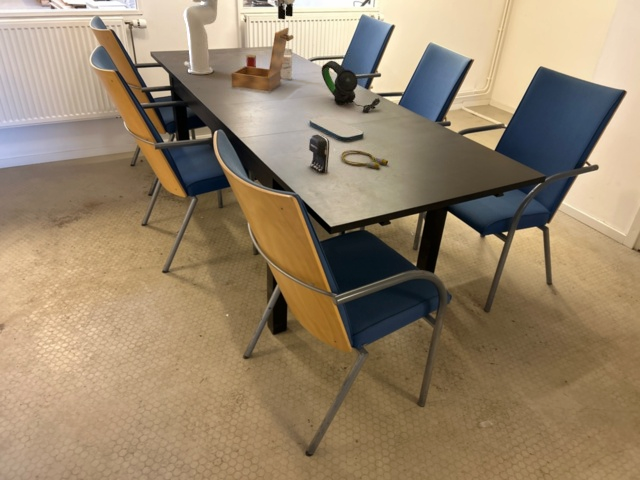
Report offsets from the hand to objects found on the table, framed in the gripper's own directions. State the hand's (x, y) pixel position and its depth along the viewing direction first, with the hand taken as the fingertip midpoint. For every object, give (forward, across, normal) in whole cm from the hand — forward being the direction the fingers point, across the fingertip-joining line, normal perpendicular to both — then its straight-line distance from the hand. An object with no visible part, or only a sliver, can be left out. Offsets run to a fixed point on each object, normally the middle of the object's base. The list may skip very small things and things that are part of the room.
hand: (285, 17), depth 220 cm
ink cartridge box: (+32, +18, +7) cm, 37 cm away
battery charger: (+32, -83, -42) cm, 99 cm away
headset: (+32, -10, -34) cm, 48 cm away
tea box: (+32, -1, +14) cm, 35 cm away
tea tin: (+32, +12, +22) cm, 41 cm away
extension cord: (+32, -70, -54) cm, 94 cm away
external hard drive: (+32, -45, -38) cm, 67 cm away
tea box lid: (+15, -1, +3) cm, 15 cm away
